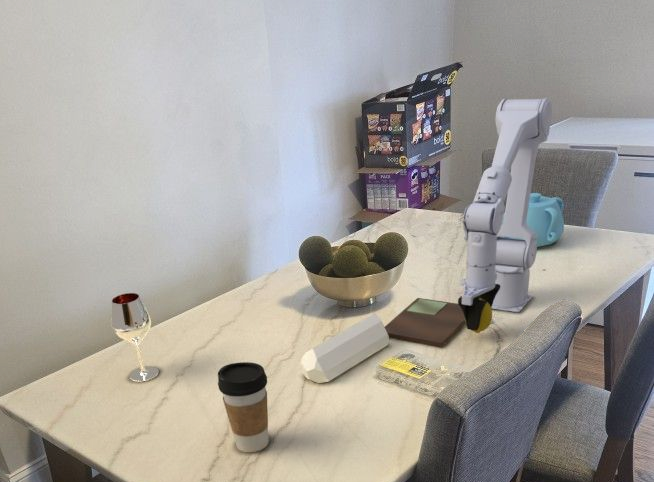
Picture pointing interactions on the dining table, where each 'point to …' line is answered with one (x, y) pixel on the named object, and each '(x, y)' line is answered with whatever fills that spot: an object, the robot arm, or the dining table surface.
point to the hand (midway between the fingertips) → (478, 323)
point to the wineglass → (132, 328)
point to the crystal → (345, 350)
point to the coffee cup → (246, 404)
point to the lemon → (484, 318)
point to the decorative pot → (544, 218)
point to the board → (427, 322)
